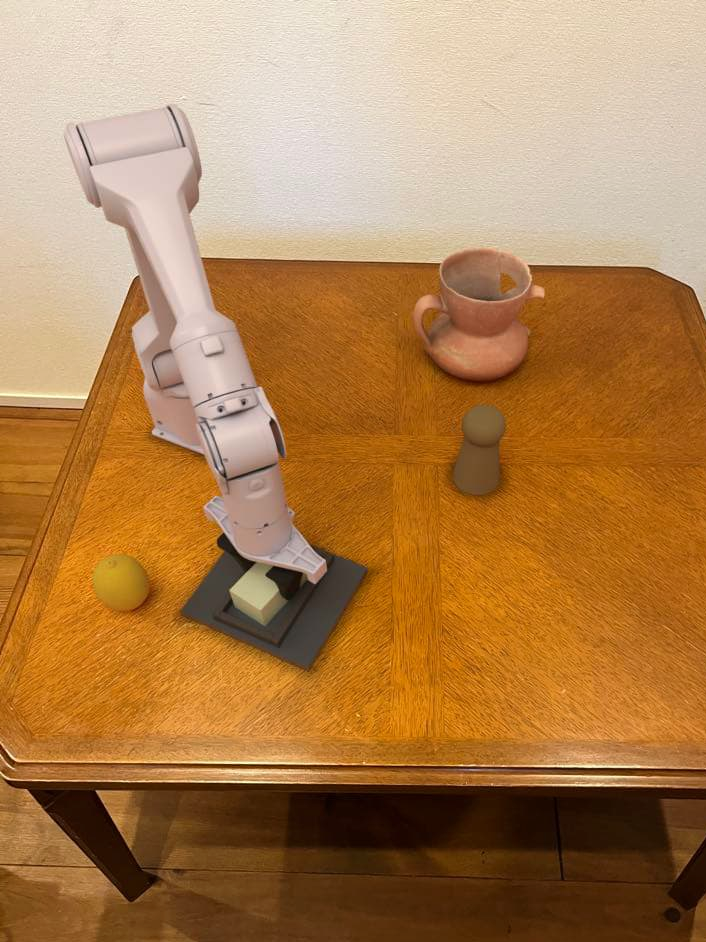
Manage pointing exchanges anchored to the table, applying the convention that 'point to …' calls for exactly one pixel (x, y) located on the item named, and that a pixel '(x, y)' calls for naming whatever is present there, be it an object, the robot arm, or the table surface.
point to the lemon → (120, 582)
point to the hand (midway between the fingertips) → (274, 582)
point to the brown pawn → (480, 450)
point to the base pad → (298, 621)
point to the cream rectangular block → (259, 594)
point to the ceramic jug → (478, 315)
